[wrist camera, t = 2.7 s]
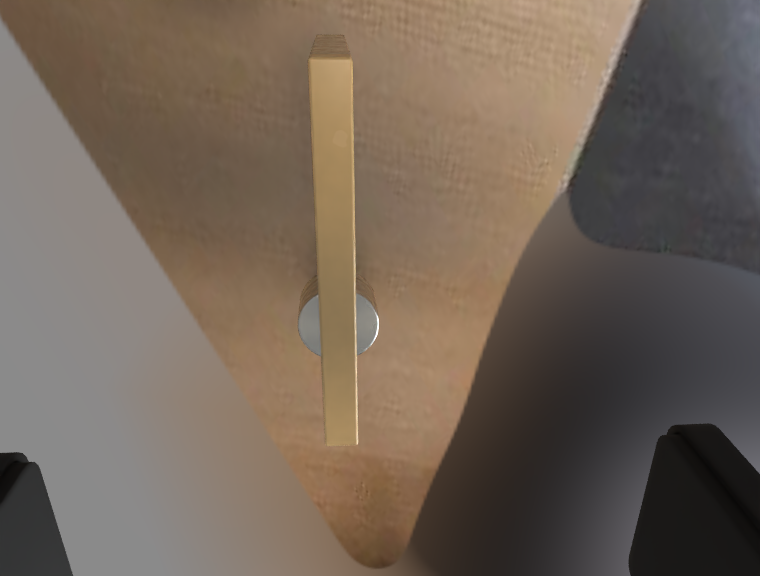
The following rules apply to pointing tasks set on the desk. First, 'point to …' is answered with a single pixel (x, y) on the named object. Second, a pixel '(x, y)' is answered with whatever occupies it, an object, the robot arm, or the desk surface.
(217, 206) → the desk surface
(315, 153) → the wood-topped metal bracket
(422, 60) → the desk surface
